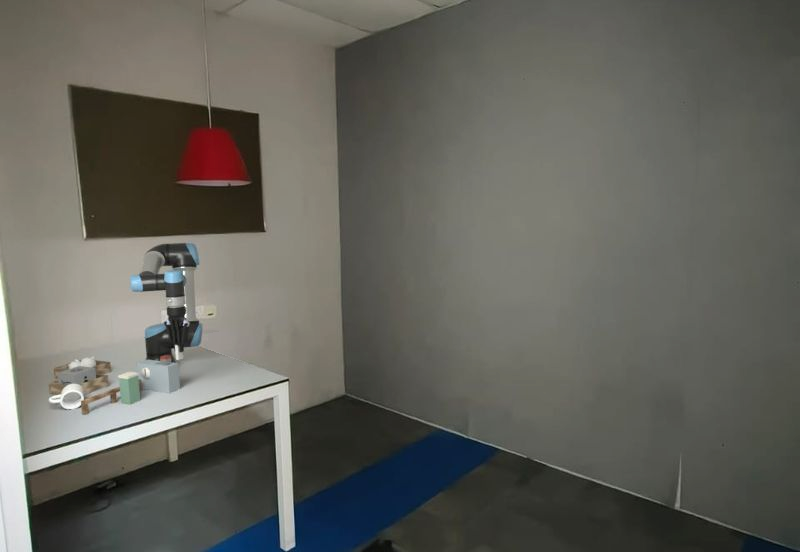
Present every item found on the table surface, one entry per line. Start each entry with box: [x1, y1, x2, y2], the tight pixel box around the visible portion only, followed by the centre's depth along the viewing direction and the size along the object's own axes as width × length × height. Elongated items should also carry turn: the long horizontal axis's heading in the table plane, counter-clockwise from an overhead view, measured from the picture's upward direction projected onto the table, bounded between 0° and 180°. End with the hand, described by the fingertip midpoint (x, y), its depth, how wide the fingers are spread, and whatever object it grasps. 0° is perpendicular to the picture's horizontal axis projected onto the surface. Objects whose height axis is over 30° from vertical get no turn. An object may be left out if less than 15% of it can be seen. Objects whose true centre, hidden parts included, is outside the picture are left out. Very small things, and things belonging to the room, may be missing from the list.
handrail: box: [80, 379, 143, 416], centre depth 203 cm, size 27×2×6 cm, turn 160°
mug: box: [48, 384, 85, 410], centre depth 199 cm, size 12×10×8 cm
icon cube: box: [57, 366, 96, 385], centre depth 216 cm, size 10×10×10 cm
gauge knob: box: [160, 355, 171, 365], centre depth 215 cm, size 3×3×3 cm
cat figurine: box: [67, 356, 97, 369], centre depth 242 cm, size 9×11×12 cm
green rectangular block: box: [118, 371, 141, 406], centre depth 203 cm, size 5×5×12 cm
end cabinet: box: [136, 359, 181, 394], centre depth 217 cm, size 7×18×12 cm, turn 70°
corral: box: [48, 359, 112, 396], centre depth 229 cm, size 32×36×5 cm
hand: (179, 358), depth 212 cm, fingers closed
